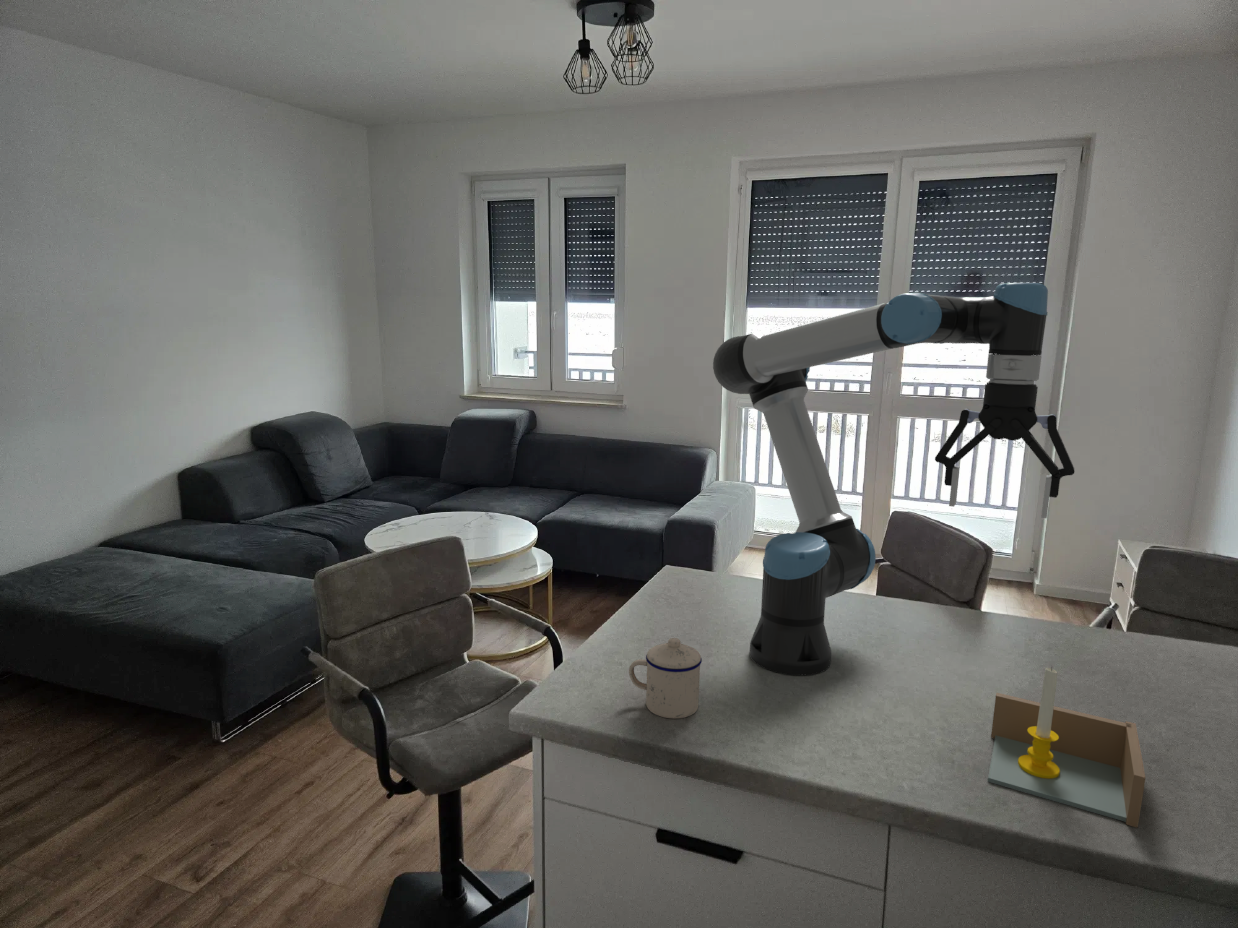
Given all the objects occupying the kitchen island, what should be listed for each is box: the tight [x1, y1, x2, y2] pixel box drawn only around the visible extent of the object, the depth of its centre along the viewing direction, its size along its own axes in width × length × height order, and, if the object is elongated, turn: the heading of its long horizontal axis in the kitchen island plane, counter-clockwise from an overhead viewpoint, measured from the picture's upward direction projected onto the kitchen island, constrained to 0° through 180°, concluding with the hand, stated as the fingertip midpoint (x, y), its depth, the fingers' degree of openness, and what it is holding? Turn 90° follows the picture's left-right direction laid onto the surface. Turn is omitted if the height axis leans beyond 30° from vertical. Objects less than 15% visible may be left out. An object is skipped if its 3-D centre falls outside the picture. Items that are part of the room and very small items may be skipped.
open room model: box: [987, 692, 1146, 828], centre depth 104 cm, size 18×15×7 cm
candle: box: [1018, 666, 1060, 779], centre depth 104 cm, size 5×5×16 cm
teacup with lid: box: [628, 637, 703, 719], centre depth 121 cm, size 12×9×12 cm
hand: (996, 510), depth 122 cm, fingers open, 13 cm apart
